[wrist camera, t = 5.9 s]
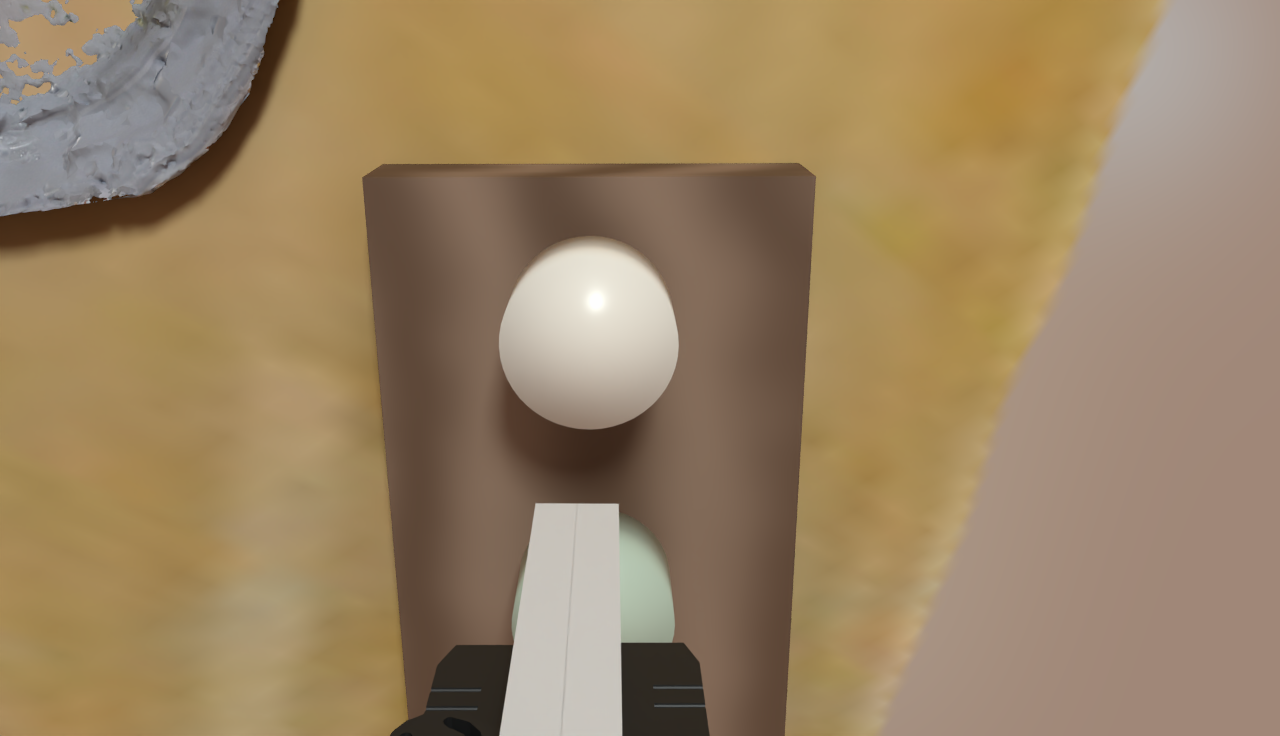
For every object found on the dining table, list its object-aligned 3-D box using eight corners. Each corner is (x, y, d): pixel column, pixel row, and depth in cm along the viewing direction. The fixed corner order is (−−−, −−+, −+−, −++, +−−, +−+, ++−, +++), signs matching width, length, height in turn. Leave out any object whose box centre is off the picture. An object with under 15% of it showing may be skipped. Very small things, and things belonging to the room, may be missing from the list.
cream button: (512, 393, 32) (502, 430, 29) (505, 236, 31) (494, 258, 28) (671, 392, 32) (677, 429, 29) (673, 235, 31) (679, 257, 28)
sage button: (522, 641, 35) (514, 696, 32) (516, 509, 33) (508, 554, 31) (668, 639, 35) (673, 694, 32) (670, 507, 34) (676, 552, 31)
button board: (432, 795, 43) (419, 850, 40) (383, 164, 34) (362, 177, 32) (767, 789, 43) (778, 843, 40) (799, 163, 35) (816, 176, 32)
